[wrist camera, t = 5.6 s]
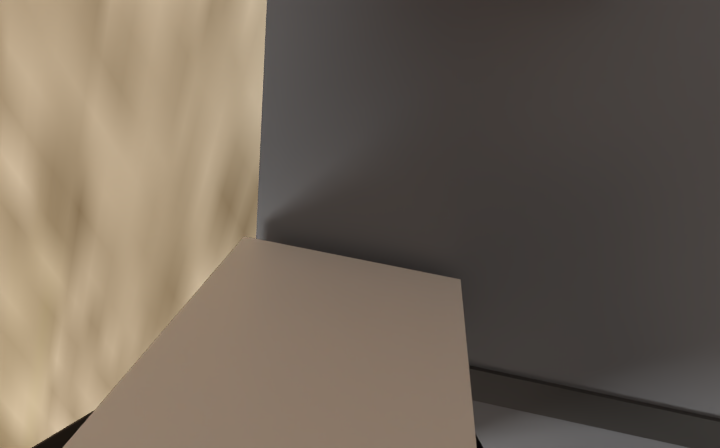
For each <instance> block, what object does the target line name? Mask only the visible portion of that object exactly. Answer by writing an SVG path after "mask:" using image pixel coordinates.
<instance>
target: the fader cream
mask: <svg viewBox="0 0 720 448" xmlns="http://www.w3.org/2000/svg"><path fill="white" fill-rule="evenodd" d="M63 448H477V446H476V435H475V425H474V415H473V404H472V394H471V383H470V373H469V362H468V352H467V342H466V331H465V321H464V310H463V300H462V289H461V279H456V278H451V277H446V276H441V275H436V274H431V273H426V272H421V271H416V270H411V269H406V268H401V267H396V266H391V265H386V264H381V263H376V262H371V261H366V260H361V259H356V258H351V257H346V256H341V255H336V254H331V253H325V252H320V251H315V250H310V249H305V248H300V247H295V246H290V245H285V244H280V243H275V242H270V241H265V240H260V239H255V238H250V237H245V236H244V237H243V238H242V239H241V241H240V242H239V243H238V244H237V245H236V246H235V248H234V249H233V250H232V251H231V252H230V253H229V255H228V256H227V257H226V258H225V259H224V260H223V261H222V263H221V264H220V265H219V266H218V267H217V268H216V270H215V271H214V272H213V273H212V274H211V275H210V277H209V278H208V279H207V280H206V281H205V282H204V284H203V285H202V286H201V287H200V288H199V289H198V291H197V292H196V293H195V294H194V295H193V296H192V298H191V299H190V300H189V301H188V302H187V303H186V305H185V306H184V307H183V308H182V309H181V310H180V312H179V313H178V314H177V315H176V316H175V317H174V319H173V320H172V321H171V322H170V323H169V324H168V326H167V327H166V328H165V329H164V330H163V331H162V332H161V334H160V335H159V336H158V337H157V338H156V339H155V341H154V342H153V343H152V344H151V345H150V346H149V348H148V349H147V350H146V351H145V352H144V353H143V355H142V356H141V357H140V358H139V359H138V360H137V362H136V363H135V364H134V365H133V366H132V367H131V369H130V370H129V371H128V372H127V373H126V374H125V376H124V377H123V378H122V379H121V380H120V381H119V383H118V384H117V385H116V386H115V387H114V388H113V390H112V391H111V392H110V393H109V394H108V395H107V397H106V398H105V399H104V400H103V401H102V402H101V403H100V405H99V406H98V407H97V408H96V409H95V410H94V412H93V413H92V414H91V415H90V416H89V417H88V419H87V420H86V421H85V422H84V423H83V424H82V426H81V427H80V428H79V429H78V430H77V431H76V433H75V434H74V435H73V436H72V437H71V438H70V440H69V441H68V442H67V443H66V444H65V445H64V447H63Z"/></svg>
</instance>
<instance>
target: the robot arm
mask: <svg viewBox="0 0 720 448" xmlns="http://www.w3.org/2000/svg"><path fill="white" fill-rule="evenodd" d="M93 412H94V411H92V412H91V413H89V414H87V415H86V416H84V417H82V418H81V419H79V420H77V421H76V422H74V423H72V424H71V425H69V426H67V427H66V428H64V429H62V430H61V431H59V432H57V433H56V434H54V435H52V436H51V437H49V438H47V439H46V440H44V441H42V442H41V443H39V444H37V445H36V446H34V447H32V448H63V447H64V445H65V444H66V443H67V442H68V441H69V440H70V438H71V437H72V436H73V435H74V434H75V433H76V431H77V430H78V429H79V428H80V427H81V426H82V424H83V423H84V422H85V421H86V420H87V419H88V417H89V416H90V415H91V414H92V413H93ZM475 435H476V433H475ZM476 446H477V448H483V446H482V444H481V442H480V441H479V439H478V437H477V435H476Z"/></svg>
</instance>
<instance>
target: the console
mask: <svg viewBox="0 0 720 448" xmlns="http://www.w3.org/2000/svg"><path fill="white" fill-rule="evenodd" d="M256 239H260V240H265V241H270V242H275V243H280V244H285V245H290V246H295V247H300V248H305V249H310V250H315V251H320V252H325V253H331V254H336V255H341V256H346V257H351V258H356V259H361V260H366V261H371V262H376V263H381V264H386V265H391V266H396V267H401V268H406V269H411V270H416V271H421V272H426V273H431V274H436V275H441V276H446V277H451V278H456V279H461V289H462V300H463V310H464V321H465V331H466V342H467V352H468V362H469V373H470V383H471V394H472V404H473V415H474V425H475V433H476V435H477V437H478V439H479V441H480V442H481V444H482V446H483V448H720V0H267V14H266V35H265V57H264V79H263V101H262V123H261V145H260V166H259V188H258V210H257V232H256Z"/></svg>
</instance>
